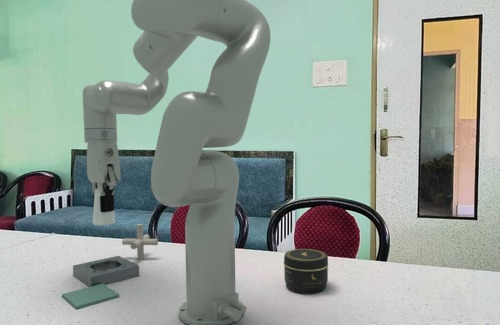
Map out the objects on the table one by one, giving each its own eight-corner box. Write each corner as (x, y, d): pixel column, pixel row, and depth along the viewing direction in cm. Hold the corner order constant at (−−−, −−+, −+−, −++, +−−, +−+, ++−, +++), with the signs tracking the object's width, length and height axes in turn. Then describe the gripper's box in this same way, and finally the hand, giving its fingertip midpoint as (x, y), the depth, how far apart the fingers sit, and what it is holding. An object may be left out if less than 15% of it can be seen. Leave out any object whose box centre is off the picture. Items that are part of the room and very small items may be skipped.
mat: (119, 296, 84) (119, 294, 84) (76, 309, 78) (76, 306, 78) (102, 286, 91) (102, 283, 91) (61, 296, 85) (61, 294, 85)
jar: (293, 297, 83) (293, 262, 83) (278, 281, 93) (277, 250, 92) (336, 292, 86) (336, 258, 85) (316, 277, 95) (316, 246, 95)
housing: (139, 275, 98) (139, 265, 98) (91, 288, 90) (90, 277, 90) (118, 265, 107) (118, 255, 107) (73, 275, 99) (72, 265, 98)
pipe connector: (163, 254, 117) (162, 221, 116) (151, 264, 107) (150, 228, 106) (130, 253, 118) (130, 220, 117) (116, 263, 108) (115, 228, 107)
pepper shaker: (93, 221, 98) (91, 178, 98) (116, 220, 100) (114, 177, 99) (91, 226, 93) (89, 180, 93) (115, 224, 95) (113, 179, 94)
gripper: (130, 135, 92) (133, 212, 93) (102, 137, 104) (105, 205, 105) (98, 135, 87) (101, 217, 88) (73, 137, 99) (76, 208, 100)
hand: (103, 209), depth 96 cm, fingers closed on pepper shaker, 3 cm apart
